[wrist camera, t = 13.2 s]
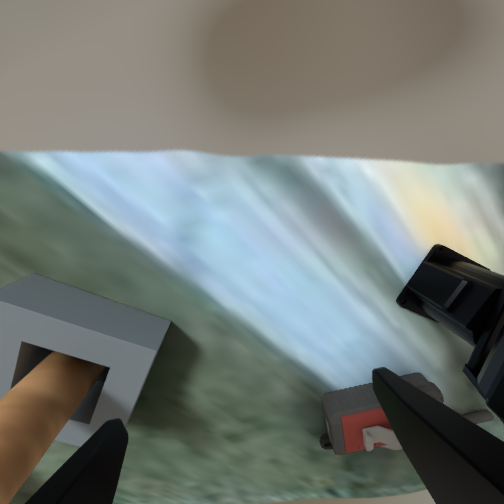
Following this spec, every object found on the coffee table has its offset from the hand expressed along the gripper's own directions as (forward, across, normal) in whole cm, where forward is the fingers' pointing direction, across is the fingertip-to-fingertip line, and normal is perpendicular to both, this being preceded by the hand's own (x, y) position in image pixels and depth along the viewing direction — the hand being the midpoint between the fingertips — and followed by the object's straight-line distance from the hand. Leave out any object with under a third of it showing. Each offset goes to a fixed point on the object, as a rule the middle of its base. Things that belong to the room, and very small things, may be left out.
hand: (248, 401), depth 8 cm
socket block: (+13, +16, +5) cm, 21 cm away
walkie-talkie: (+14, -15, +20) cm, 28 cm away
